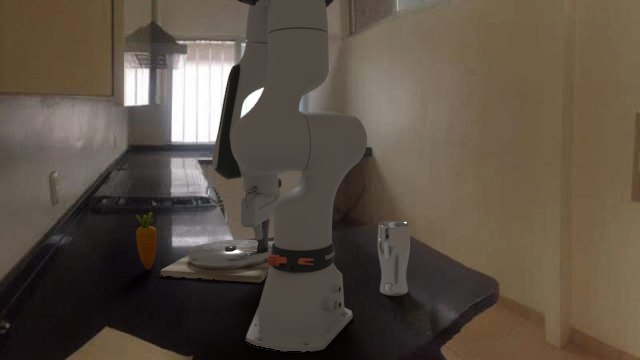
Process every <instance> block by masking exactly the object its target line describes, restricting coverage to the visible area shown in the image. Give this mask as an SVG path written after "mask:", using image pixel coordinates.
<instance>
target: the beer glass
mask: <svg viewBox="0 0 640 360" xmlns="http://www.w3.org/2000/svg"><path fill="white" fill-rule="evenodd" d="M377 251H378V259H379V265H380V271H381V279H380V285H379V291H380V293H381V294H383V295H385V296H389V297H390V296H391V297H400V296H404V295H406V294H407V293H408V291H409V289H408V283H407V269H408V268H407V267H408V263H409V258H410V251H411V232H410V223H408V222H406V221H405V222H404V221H399V220H397V221H396V220H388V221H387V220H386V221H381V222H379V223H378V230H377Z"/></svg>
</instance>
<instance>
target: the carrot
mask: <svg viewBox="0 0 640 360" xmlns="http://www.w3.org/2000/svg"><path fill="white" fill-rule="evenodd" d="M152 217H153V212H151V211H150V212H149V213H148V215H146V214H144V215H143V217H140V215H139V214H136V216H135V218H136V219H137V220H138V222H139V224H140V225H141V226H140V227H139V228H137V229H136V231H135V236H136V238H135V239H136V240H135V241H136V246H137V247H136V248H137V251H138V255H139V258H140V261H141V262H142V265H143V266H144V267H145V269H146V270H147V269H149V270H151V269H152V266H153V264H154V262H155V259H156V255H157V253H156V252H157V247H158V246H157V242H158V241H157V240H158V237H157V236H158V235H157V233H158V232H157V229H156V227H155V226H152V225H151V224H152V223H153V222H154V219H152Z"/></svg>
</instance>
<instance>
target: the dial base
mask: <svg viewBox="0 0 640 360" xmlns="http://www.w3.org/2000/svg"><path fill="white" fill-rule="evenodd" d="M271 267H272V266H269V264H268V261H266V262H264V263H262V264H259V265H255V266H251V267H246V268H239V269H228V270H213V269H203V268H198V267H195V266H193V265H191V264H190V263H189V261H188V254H187V255H185V256H183V257H182V258H180V259H178V260H177V261H175V262H173V263H171V264H170V265H168V266H166V267H164V268H162V269H161V270H160V276H161V275H163V276H162V277H166V276H172V277H171V278H181V277H185V279H197V278H202V279H201V280H213V279H215V281H230V282H232V281H233V282H247V283H248V282H249V283H261V282H262V281H264V280H266V279H267V275H268V270H269V269H270V268H271ZM265 278H266V279H265Z"/></svg>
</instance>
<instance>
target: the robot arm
mask: <svg viewBox="0 0 640 360" xmlns="http://www.w3.org/2000/svg"><path fill="white" fill-rule="evenodd" d="M236 1H237V2H240V3H242V4H246V5H249V8H248V13H247V19H246V30H245V31H246V32H245V47H244V51H243V55H242V57H241V58H240V60H239V61H238V63H236V64H234V65H232V66H231V69H230V71H229V73H228V77H227V81H226V86H225V90H224V94H223V95H224V96H223V102H222V106H221V107H222V108H221V113H220V118H219V125H218V129H217V134H216V138H215V143H214V146H213V150H212V153H211V156H212V157H211V161H212V166H213V170H214V171H215V172H216V173H217V174H218V175H219V176H221V177H222V178H224V179H225V180H234V179H239V178H241V179H242V180H243V181H242V183H243V184H242V185H243V186H242V187H243V188H242V189H243V192H244V193H245V195H244V196H243V197H242V198H241V204H240V207H241V208H240V223H241V225H242V227H243V228H252V229H253V231H254V238H255V240H256V241H257V240H261V239H262V238H263V237H264V236H263V232H262V227H261V226H262V222H264V221H266V220H267V221H268V235H269V234H270V225H271V222H272V220H273V225H272V226H273V243H272V244H271V246H272V251H271V254H269V256H268V257H269V258H268V264H269V266H272V267H271V268H270V269H269V270H268V275H267V277H266V279H265V283H264V286H263V288H262V289H263V290H262V294H261V295H260V300H259V305H258V307H257V309H256V310H255V314H254V316H253V318H252V321H251V323H250V325H249V328H248V330H247V333H246V337H245V342H246V341H247V342H249V343H251V344H253V345H256V346H261V347H265V348H271V349H275V350H274V351H276V350H280V351H279V352H287V351H301V352H300V353H306V351H310V352H316V351H322V350H324V349H326V348H327V346H328V345H329V344H330V343H331V342H332V340H334V339H335V337H337V336H338V334H339V333H340V332H341V331H342V330H343V329H344V328H345V326H346V325H348V323H350V321H351V320H352V319H353V318H354V317H353V312H352V310H350V309H348V308H346V307H345V300H344V299H345V296H344V286H343V285H344V281H343V279H344V278H343V274H342V272H341V270H339V269H337V267H336V265H335V264H334V262H335V259H336V258H335V254H336V251H335V249H336V248H335V243H334V242H333V241H332V239H333V236H332V235H333V232H332V229H333V226H332V225H333V209H334V202H335V198H336V194H337V191H338V189H339V188H340V187H339V186H340V184H341V183H342V181H343V180H344V178H345V176H346V175H347V174H348V173H349V172H350V170H352V169H353V168H354V167H355V166H356V165H357V164H358V163H360V161H361V160H362V158H363V157H364V155H365V152H366V151H367V145H368V136H367V130H366V129H365V126H364V124H363V123H362V120H360V119H359V118H358V117H357V116H356V115H351V114H347V113H343V112H337V111H300V104H301V101H302V98H303V97H304V96H305V95H306V94H309V93H311V92H312V91H315V90H316V89H318V88H319V87H321V86H322V85H323V84H324V83H325V82H326V80H327V78H328V76H329V72H330V63H329V61H330V59H329V54H330V53H329V23H328V12H327V8H328V7H330V5H331V4H332V3H333V2H334V1H335V0H236ZM262 88H263V89H262ZM261 89H262V91H261V94H260V96H259V98H258V99H257V101H256V102H255V104H254V105H253V106H252V107H251V108H250V109H249V110H248V111H247V112H246V113H245V114H244V115H242V112H243V111H242V110H243V105H244V103H245V101H246V99H247V98H248V97H249V96H250V95H252V94H253V93H255V92H256V91H259V90H261ZM241 115H242V116H241ZM287 172H301V177H300V178H299V181H298V183H297V184H296V185H295V186H294V187H293V188H291V189H290V190H288V191H286V192H284V193H283V194H281V189H280V188H282V186H283V183H282V182H283V180H282V179H281V178H279V176H278V175H281V174H284V173H287ZM271 218H272V219H271Z"/></svg>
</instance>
